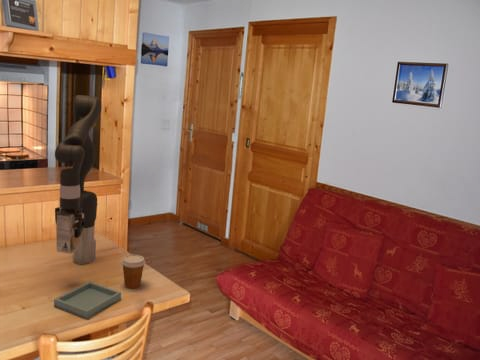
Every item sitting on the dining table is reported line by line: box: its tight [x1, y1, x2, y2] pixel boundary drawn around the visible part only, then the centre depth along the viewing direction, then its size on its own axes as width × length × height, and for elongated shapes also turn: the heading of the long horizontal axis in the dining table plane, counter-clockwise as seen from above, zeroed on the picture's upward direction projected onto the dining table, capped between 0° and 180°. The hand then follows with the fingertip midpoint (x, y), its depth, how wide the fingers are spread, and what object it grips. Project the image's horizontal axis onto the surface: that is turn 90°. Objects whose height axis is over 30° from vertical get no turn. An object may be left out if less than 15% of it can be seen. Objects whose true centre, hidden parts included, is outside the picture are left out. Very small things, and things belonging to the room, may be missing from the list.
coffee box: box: [55, 209, 83, 255], centre depth 176 cm, size 9×6×16 cm
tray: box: [53, 281, 122, 320], centre depth 168 cm, size 18×16×3 cm
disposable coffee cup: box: [121, 254, 146, 290], centre depth 184 cm, size 10×10×12 cm
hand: (69, 235), depth 177 cm, fingers closed on coffee box, 7 cm apart
